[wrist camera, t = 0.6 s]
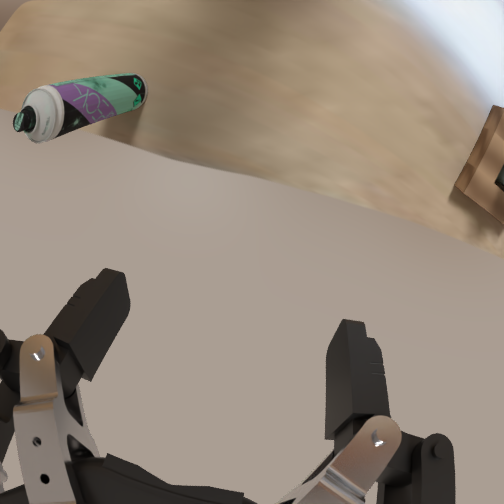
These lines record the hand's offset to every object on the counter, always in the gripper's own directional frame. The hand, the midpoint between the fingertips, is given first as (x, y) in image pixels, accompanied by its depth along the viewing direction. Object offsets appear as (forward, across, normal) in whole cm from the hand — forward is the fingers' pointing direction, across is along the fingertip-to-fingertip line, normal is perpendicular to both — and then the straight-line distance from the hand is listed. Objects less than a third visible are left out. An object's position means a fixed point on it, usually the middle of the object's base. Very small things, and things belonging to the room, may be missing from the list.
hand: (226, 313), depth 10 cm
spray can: (+29, +21, -4) cm, 36 cm away
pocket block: (+29, -34, -6) cm, 45 cm away
